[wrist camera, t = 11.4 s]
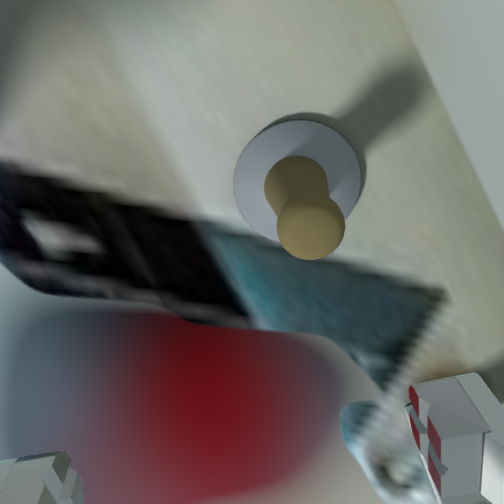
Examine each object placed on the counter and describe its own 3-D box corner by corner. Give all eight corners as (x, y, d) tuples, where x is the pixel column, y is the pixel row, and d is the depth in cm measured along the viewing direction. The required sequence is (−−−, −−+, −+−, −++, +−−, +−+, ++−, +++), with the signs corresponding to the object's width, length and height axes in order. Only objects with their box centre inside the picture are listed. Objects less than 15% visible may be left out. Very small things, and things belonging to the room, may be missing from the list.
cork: (273, 148, 42) (286, 188, 32) (336, 163, 43) (367, 207, 33) (256, 209, 45) (263, 263, 35) (316, 222, 45) (339, 279, 36)
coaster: (247, 250, 48) (247, 253, 47) (221, 134, 42) (220, 136, 41) (364, 227, 47) (366, 231, 46) (352, 107, 41) (354, 108, 41)
